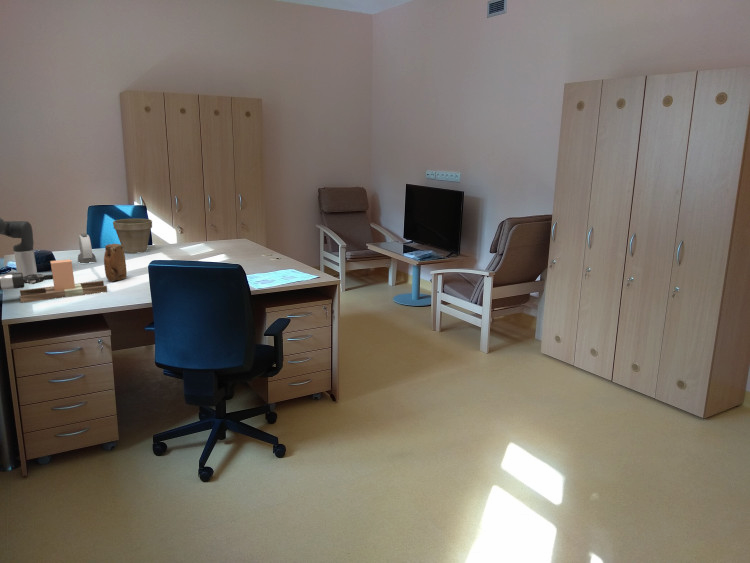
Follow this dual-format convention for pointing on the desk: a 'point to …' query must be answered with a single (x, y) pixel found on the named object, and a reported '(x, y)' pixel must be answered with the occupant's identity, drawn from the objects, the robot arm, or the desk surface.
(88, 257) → the grey piece
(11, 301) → the desk surface
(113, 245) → the block
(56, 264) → the block
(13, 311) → the desk surface
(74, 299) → the desk surface
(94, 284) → the track
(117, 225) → the plant pot
